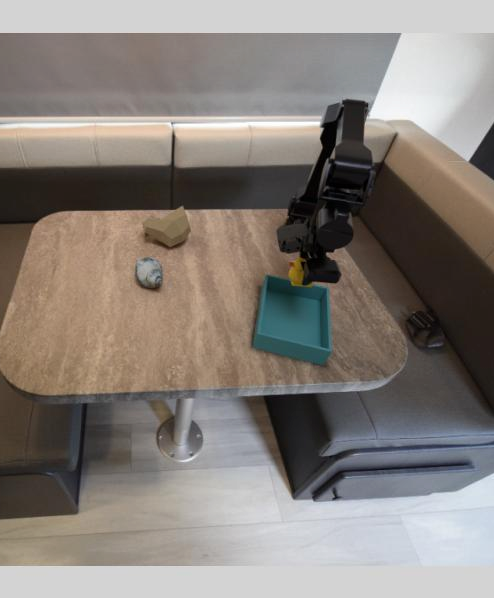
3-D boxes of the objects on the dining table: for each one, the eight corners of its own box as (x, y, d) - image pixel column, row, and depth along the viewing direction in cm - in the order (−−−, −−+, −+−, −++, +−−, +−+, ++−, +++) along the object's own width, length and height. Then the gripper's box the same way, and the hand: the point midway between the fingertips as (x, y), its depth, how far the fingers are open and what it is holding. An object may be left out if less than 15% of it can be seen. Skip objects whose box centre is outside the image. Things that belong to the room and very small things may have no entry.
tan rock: (197, 237, 108) (176, 207, 109) (204, 222, 97) (180, 190, 99) (157, 262, 105) (136, 232, 107) (159, 250, 95) (135, 216, 96)
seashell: (158, 270, 98) (155, 300, 90) (134, 260, 96) (128, 290, 88) (169, 254, 94) (166, 284, 85) (143, 243, 92) (138, 273, 83)
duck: (314, 277, 81) (324, 255, 77) (317, 289, 79) (328, 267, 74) (282, 274, 82) (289, 252, 77) (284, 286, 79) (292, 264, 74)
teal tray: (261, 288, 92) (265, 274, 88) (321, 301, 89) (329, 287, 85) (252, 347, 78) (257, 333, 75) (323, 365, 75) (332, 351, 72)
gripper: (279, 192, 75) (262, 250, 87) (292, 244, 62) (271, 304, 73) (332, 196, 75) (308, 254, 86) (357, 249, 62) (325, 309, 73)
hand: (302, 278), depth 80 cm, fingers closed on duck, 4 cm apart
